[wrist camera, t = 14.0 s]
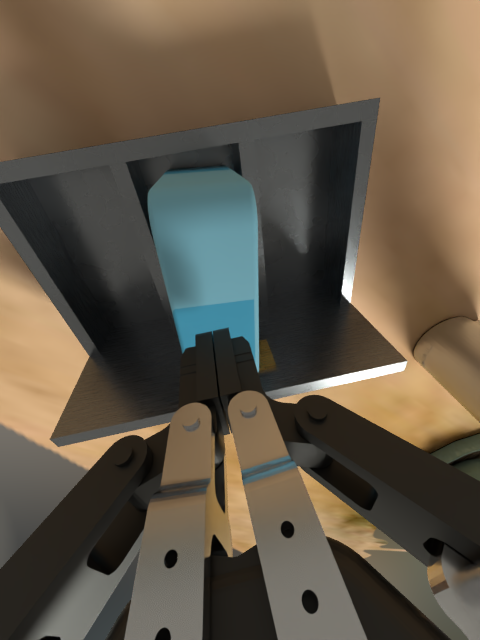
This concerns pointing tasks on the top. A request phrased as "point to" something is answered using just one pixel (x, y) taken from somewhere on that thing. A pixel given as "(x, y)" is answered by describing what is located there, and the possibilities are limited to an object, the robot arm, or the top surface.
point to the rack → (145, 272)
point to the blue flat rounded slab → (208, 251)
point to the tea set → (462, 455)
